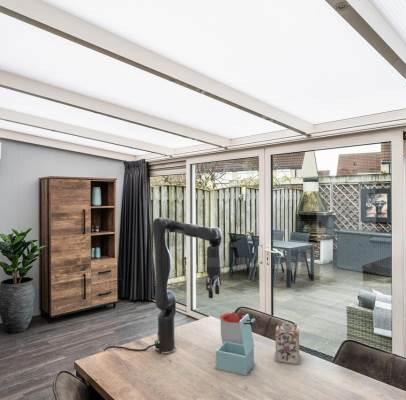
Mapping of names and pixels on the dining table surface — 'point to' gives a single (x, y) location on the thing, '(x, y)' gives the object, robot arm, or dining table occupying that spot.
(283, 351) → the decorative jar
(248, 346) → the freezer lid
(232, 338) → the citrus juicer
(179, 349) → the dining table surface
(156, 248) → the robot arm
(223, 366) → the box
